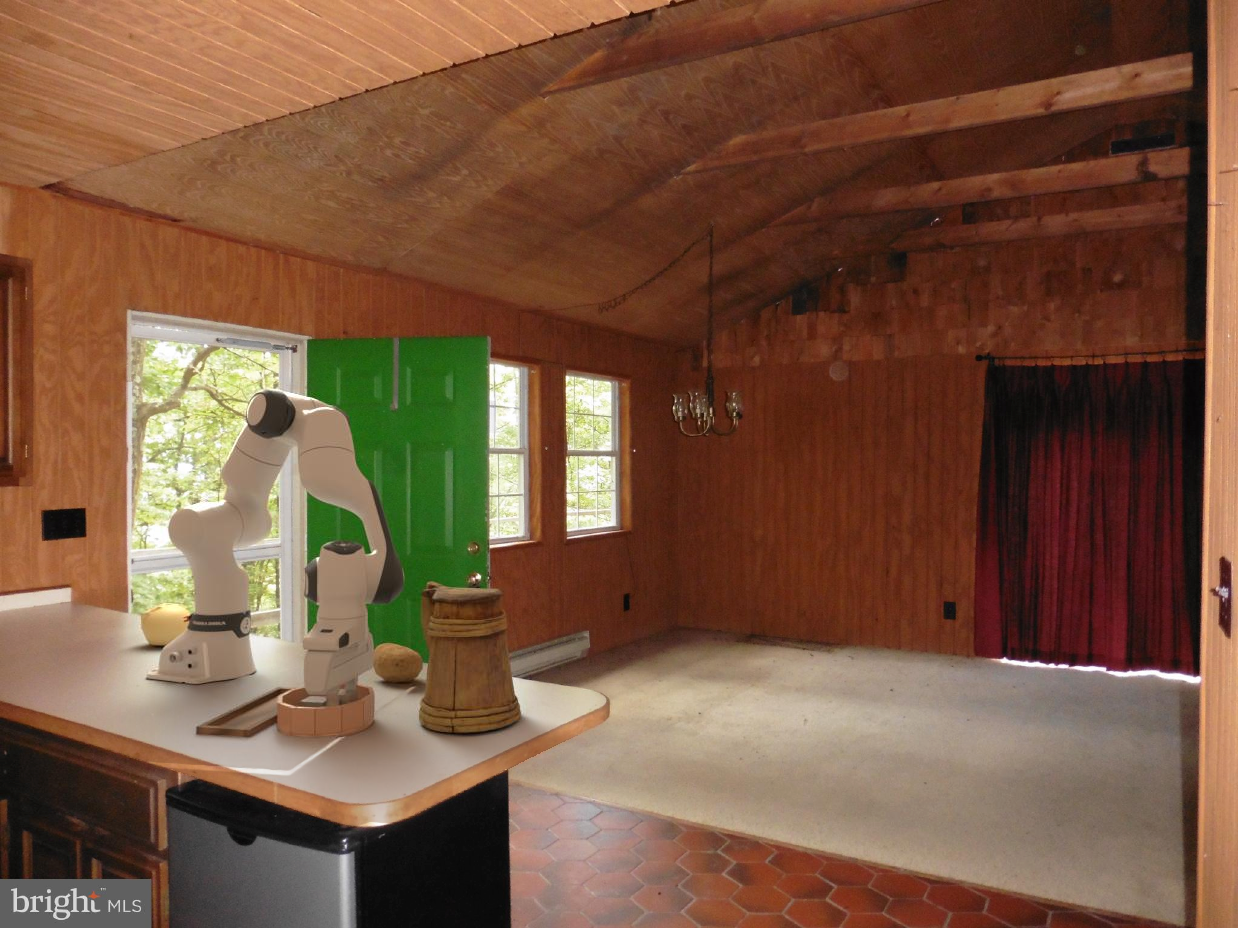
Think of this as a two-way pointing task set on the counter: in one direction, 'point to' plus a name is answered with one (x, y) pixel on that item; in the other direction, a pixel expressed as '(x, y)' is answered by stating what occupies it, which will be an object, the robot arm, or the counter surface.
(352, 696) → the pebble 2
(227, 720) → the parts tray
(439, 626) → the tankard
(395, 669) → the potato
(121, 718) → the counter surface
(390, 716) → the counter surface
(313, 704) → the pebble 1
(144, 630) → the yellow apple
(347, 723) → the bowl
